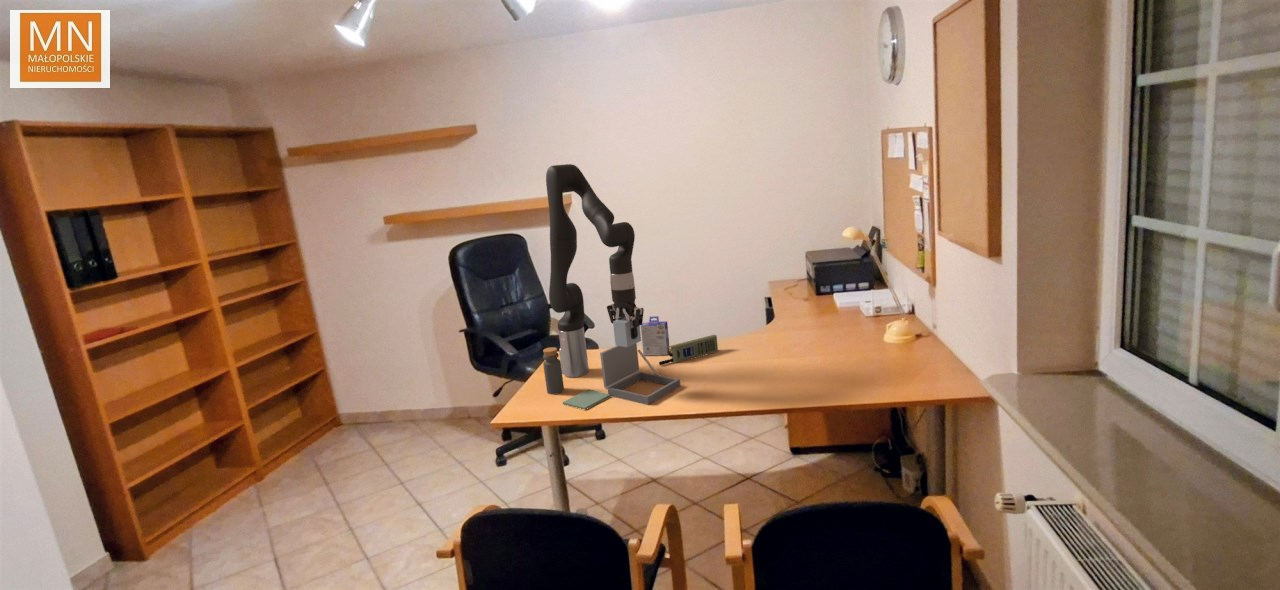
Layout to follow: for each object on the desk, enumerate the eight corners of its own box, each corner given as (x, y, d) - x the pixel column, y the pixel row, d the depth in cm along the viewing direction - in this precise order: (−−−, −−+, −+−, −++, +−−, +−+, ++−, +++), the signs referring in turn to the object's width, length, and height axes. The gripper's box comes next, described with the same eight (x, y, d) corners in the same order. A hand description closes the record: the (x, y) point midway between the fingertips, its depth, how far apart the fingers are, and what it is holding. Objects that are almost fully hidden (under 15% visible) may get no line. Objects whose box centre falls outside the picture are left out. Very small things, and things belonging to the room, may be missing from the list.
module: (615, 345, 203) (612, 321, 201) (629, 338, 208) (627, 315, 206) (627, 347, 200) (624, 323, 198) (641, 340, 205) (638, 317, 203)
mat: (562, 404, 203) (562, 402, 203) (588, 391, 212) (588, 389, 212) (584, 410, 197) (584, 407, 197) (610, 396, 206) (610, 394, 206)
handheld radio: (719, 352, 239) (662, 368, 228) (714, 350, 242) (657, 366, 231) (717, 335, 238) (660, 350, 227) (713, 333, 241) (655, 348, 230)
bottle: (557, 386, 220) (551, 345, 216) (567, 390, 215) (562, 348, 212) (543, 392, 216) (537, 350, 212) (554, 395, 212) (548, 353, 208)
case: (648, 404, 196) (643, 360, 193) (604, 394, 208) (600, 352, 205) (682, 385, 210) (679, 343, 206) (640, 376, 221) (636, 337, 218)
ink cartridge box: (670, 350, 246) (667, 315, 243) (668, 355, 241) (665, 319, 237) (645, 351, 248) (642, 316, 245) (643, 356, 243) (639, 320, 239)
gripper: (598, 287, 201) (603, 338, 205) (632, 290, 192) (637, 343, 196) (613, 282, 207) (618, 331, 211) (647, 285, 198) (652, 336, 202)
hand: (627, 337), depth 203 cm, fingers closed on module, 5 cm apart
